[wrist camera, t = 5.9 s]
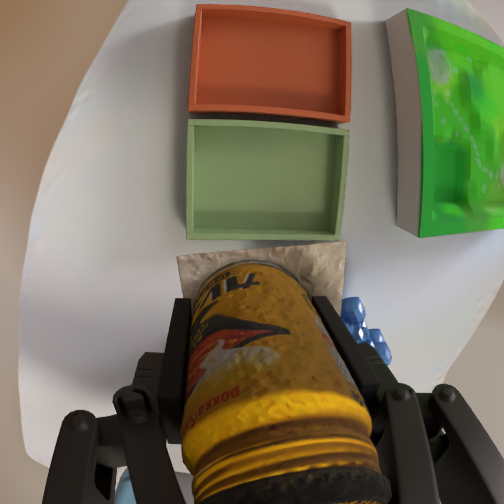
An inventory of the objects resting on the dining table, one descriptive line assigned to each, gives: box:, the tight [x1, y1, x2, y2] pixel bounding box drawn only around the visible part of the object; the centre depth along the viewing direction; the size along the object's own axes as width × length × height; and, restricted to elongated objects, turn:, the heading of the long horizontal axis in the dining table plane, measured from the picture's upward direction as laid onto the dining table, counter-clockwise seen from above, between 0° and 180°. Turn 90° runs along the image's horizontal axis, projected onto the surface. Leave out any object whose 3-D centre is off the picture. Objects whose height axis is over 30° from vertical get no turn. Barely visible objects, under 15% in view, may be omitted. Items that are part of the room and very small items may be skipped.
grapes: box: [340, 297, 392, 366], centre depth 30 cm, size 12×7×12 cm, turn 69°
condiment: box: [177, 241, 392, 504], centre depth 11 cm, size 7×8×12 cm
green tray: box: [186, 119, 349, 241], centre depth 29 cm, size 11×15×2 cm
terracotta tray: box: [188, 4, 351, 123], centre depth 25 cm, size 11×15×2 cm
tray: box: [385, 8, 504, 238], centre depth 28 cm, size 25×25×5 cm
